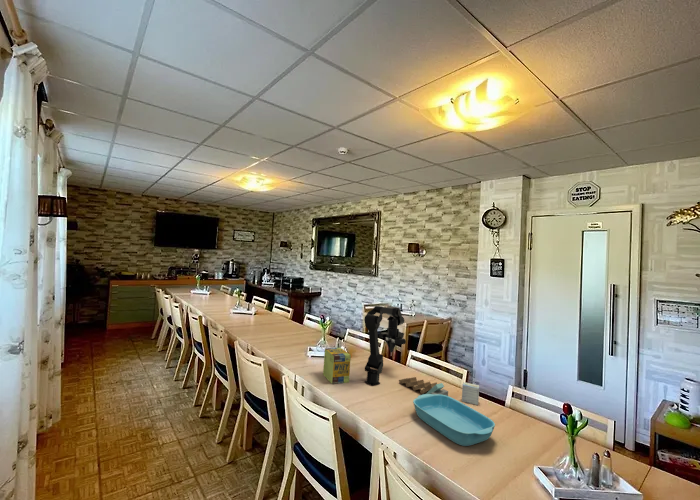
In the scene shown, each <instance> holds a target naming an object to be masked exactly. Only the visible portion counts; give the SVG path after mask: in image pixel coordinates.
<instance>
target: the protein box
mask: <svg viewBox="0 0 700 500" xmlns="http://www.w3.org/2000/svg"><path fill="white" fill-rule="evenodd" d="M323 357H324V358H323V369H322V375H323V376H324V378H326V380H328V382H329V383H330V384H331V385H337V384H338V385H339V384H347V383H350V375H351V373H350V372H351V371H350V370H351V358H352V356H351V354H350V353H348V352H347V351H346V350H344V349H343V348H342V347H325V348H324V355H323Z"/></svg>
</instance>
